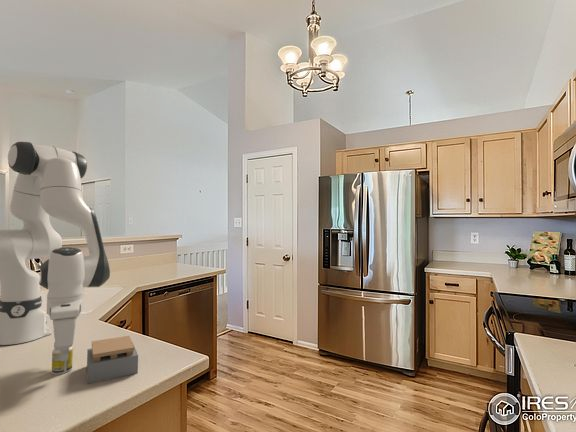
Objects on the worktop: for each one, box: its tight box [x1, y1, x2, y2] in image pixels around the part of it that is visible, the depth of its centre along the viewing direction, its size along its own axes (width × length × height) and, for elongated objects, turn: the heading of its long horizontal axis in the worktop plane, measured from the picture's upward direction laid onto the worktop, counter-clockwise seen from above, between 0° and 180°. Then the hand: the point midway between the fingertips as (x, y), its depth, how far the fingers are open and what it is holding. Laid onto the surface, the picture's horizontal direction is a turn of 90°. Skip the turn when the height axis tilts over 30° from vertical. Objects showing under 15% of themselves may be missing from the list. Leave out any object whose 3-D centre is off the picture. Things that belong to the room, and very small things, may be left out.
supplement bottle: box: [51, 341, 74, 375], centre depth 92 cm, size 5×5×8 cm
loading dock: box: [86, 335, 139, 384], centre depth 94 cm, size 12×12×7 cm
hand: (64, 354), depth 92 cm, fingers open, 8 cm apart
